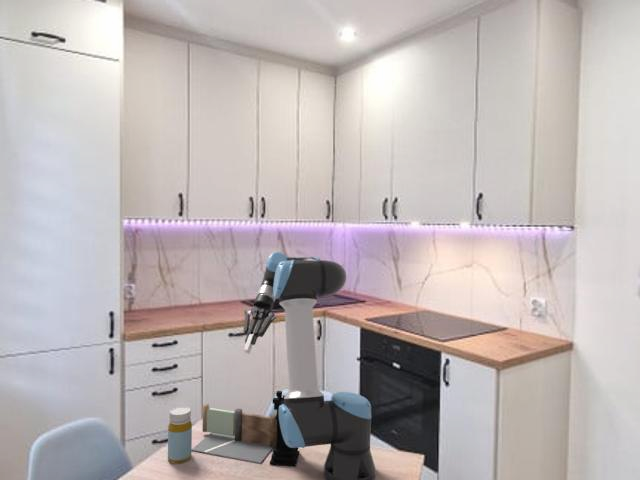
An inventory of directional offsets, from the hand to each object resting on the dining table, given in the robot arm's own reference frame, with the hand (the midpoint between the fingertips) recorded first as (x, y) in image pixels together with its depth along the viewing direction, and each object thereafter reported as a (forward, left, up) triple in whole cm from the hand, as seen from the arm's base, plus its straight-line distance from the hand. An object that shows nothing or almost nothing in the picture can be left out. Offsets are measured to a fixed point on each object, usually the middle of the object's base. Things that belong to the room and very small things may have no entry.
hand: (246, 351), depth 163 cm
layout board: (-5, +17, -26) cm, 32 cm away
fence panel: (+4, +14, -25) cm, 29 cm away
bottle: (+8, +30, -26) cm, 41 cm away
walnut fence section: (-10, +14, -26) cm, 31 cm away
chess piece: (-23, +20, -26) cm, 40 cm away
